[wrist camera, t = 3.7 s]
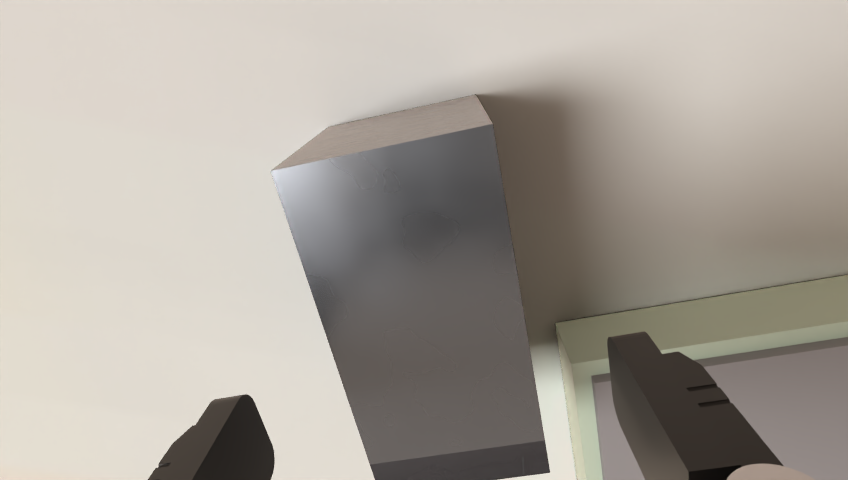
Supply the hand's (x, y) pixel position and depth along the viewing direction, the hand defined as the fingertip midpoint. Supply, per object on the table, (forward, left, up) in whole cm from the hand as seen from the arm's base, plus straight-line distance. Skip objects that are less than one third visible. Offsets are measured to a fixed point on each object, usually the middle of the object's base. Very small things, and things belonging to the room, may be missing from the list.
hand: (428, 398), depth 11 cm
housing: (0, 0, -8) cm, 8 cm away
